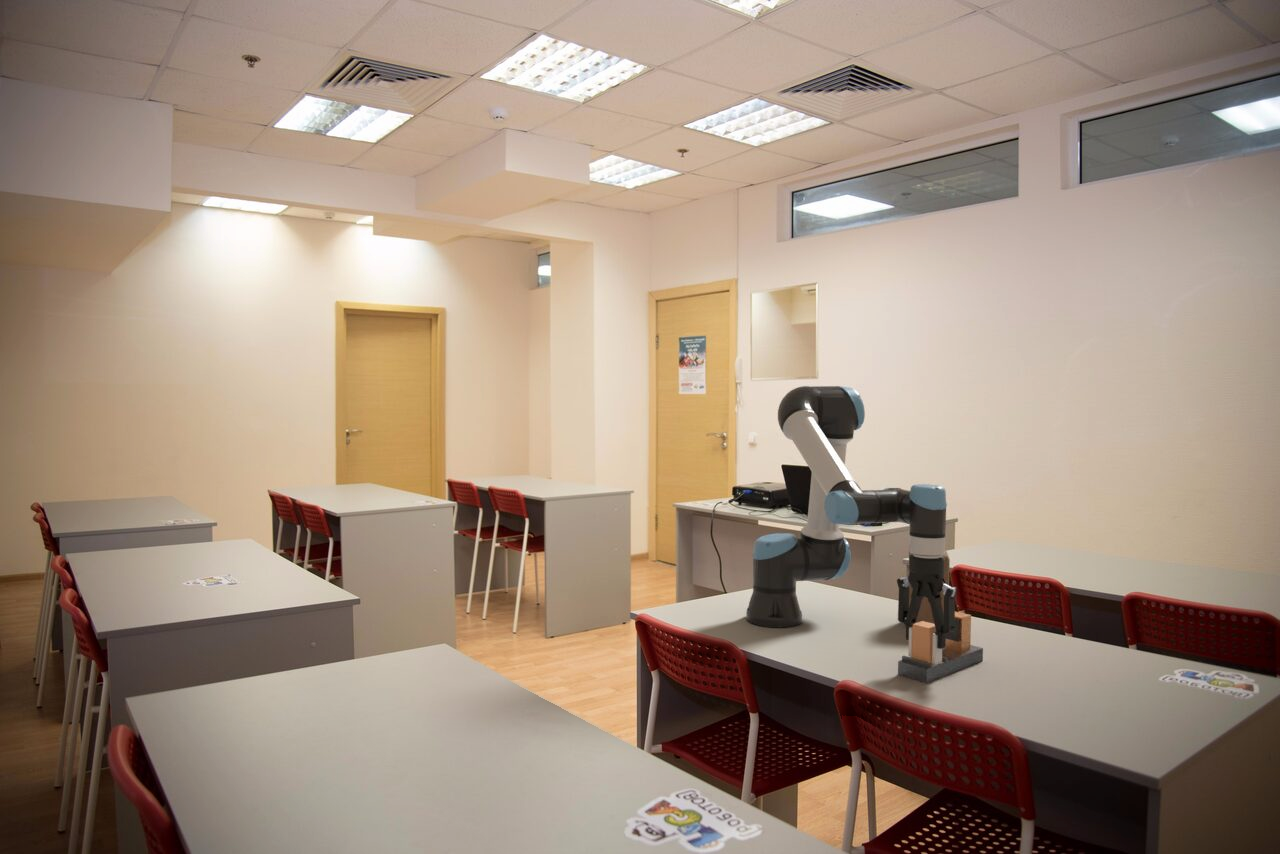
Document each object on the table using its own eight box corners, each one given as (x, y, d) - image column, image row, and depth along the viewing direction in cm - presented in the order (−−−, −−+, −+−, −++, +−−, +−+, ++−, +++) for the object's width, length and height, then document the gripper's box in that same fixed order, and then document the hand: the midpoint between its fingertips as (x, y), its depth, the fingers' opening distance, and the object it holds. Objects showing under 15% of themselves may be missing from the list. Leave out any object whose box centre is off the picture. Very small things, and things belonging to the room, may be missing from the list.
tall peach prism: (912, 659, 183) (912, 624, 182) (923, 655, 186) (924, 620, 185) (928, 664, 179) (929, 628, 179) (940, 659, 183) (940, 624, 182)
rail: (897, 674, 182) (898, 625, 181) (954, 653, 197) (955, 608, 197) (926, 683, 177) (927, 632, 176) (982, 660, 192) (983, 614, 191)
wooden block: (908, 628, 218) (909, 554, 217) (907, 618, 228) (908, 547, 227) (948, 632, 215) (949, 556, 215) (945, 622, 225) (947, 549, 224)
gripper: (974, 559, 177) (972, 665, 178) (900, 547, 191) (898, 646, 192) (956, 563, 172) (954, 673, 173) (881, 550, 186) (879, 652, 187)
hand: (925, 658), depth 182 cm, fingers open, 5 cm apart
